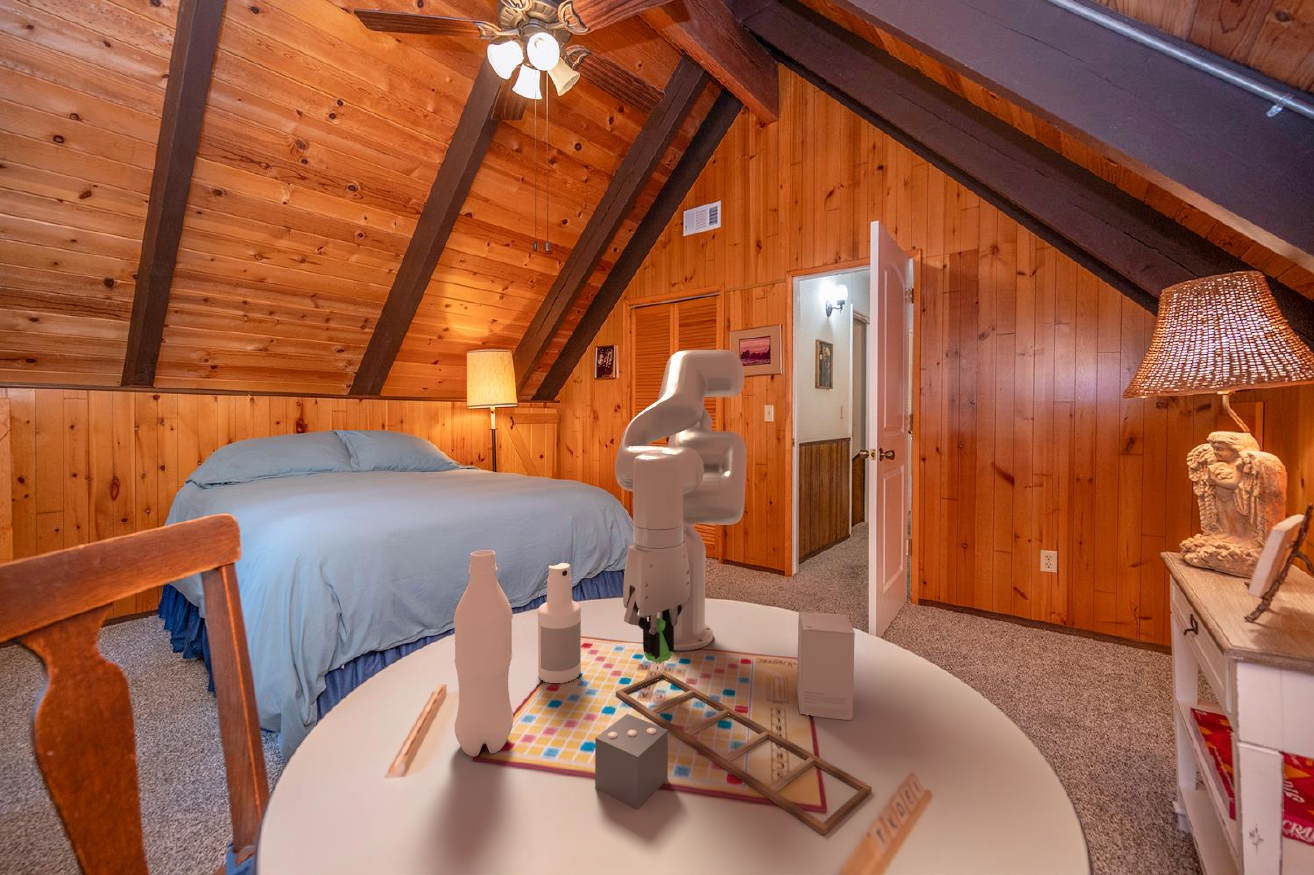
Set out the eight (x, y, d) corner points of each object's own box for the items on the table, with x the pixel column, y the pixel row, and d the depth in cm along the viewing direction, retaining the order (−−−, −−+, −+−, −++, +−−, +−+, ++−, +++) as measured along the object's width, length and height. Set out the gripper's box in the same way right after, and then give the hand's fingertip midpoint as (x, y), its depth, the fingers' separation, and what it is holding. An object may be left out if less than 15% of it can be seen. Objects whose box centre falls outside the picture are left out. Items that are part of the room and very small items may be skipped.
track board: (615, 695, 82) (615, 691, 82) (664, 675, 89) (664, 671, 89) (823, 835, 55) (823, 830, 55) (871, 792, 62) (871, 786, 62)
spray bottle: (551, 689, 84) (551, 574, 83) (530, 673, 89) (530, 564, 88) (588, 675, 88) (588, 566, 87) (566, 660, 93) (566, 557, 93)
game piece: (645, 648, 86) (644, 611, 85) (672, 648, 86) (672, 612, 85) (643, 662, 81) (643, 623, 81) (672, 662, 81) (672, 624, 81)
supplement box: (853, 722, 76) (856, 633, 75) (798, 715, 77) (800, 628, 77) (846, 694, 83) (848, 613, 82) (796, 689, 84) (797, 609, 84)
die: (595, 788, 62) (595, 736, 62) (626, 760, 67) (627, 712, 67) (637, 810, 59) (637, 755, 58) (667, 779, 64) (668, 728, 63)
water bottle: (524, 734, 72) (523, 548, 71) (491, 767, 65) (489, 563, 64) (479, 723, 75) (477, 543, 73) (442, 754, 68) (440, 557, 67)
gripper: (679, 521, 90) (679, 628, 92) (600, 540, 79) (601, 660, 81) (713, 530, 84) (712, 644, 86) (631, 552, 74) (632, 680, 75)
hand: (658, 651), depth 83 cm, fingers closed on game piece, 2 cm apart
